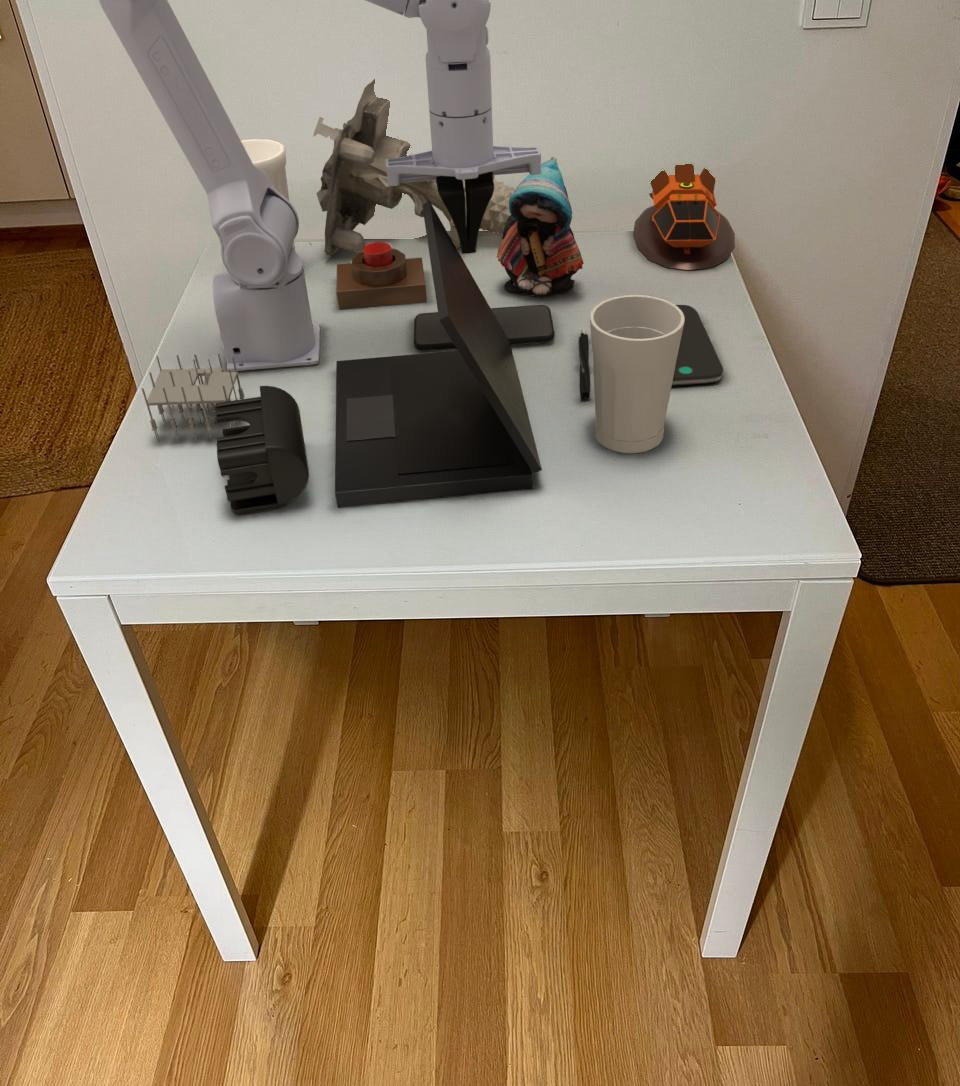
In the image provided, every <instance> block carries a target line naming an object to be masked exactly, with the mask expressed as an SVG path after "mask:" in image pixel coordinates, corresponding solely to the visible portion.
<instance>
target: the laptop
mask: <svg viewBox="0 0 960 1086" xmlns="http://www.w3.org/2000/svg"><path fill="white" fill-rule="evenodd" d="M335 368H336V371H335V372H336V373H335V374H336V375H335V380H336V381H335V452H334V453H335V457H334V458H335V461H334V462H335V463H334V464H335V465H334V466H335V467H334V472H335V473H334V495H335V501H336V507H337V508H344V507H355V506H365V505H366V506H367V505H379V504H386V503H398V502H408V501H420V500H430V499H431V500H432V499H439V498H450V497H451V498H452V497H463V496H473V495H484V494H492V493H493V494H494V493H503V492H513V491H514V492H515V491H526V490H533V488H534V486H533V485H534V483H533V482H534V481H533V478H534V477H533V476H534V475H533V472H532V470H531V469H530V467H529V465H528V464H527V462H526V461H525V459H524V457H523V456H522V454H521V452H520V451H519V449H518V448H517V446H516V444H515V443H514V441H513V439H512V438H511V436H510V435H509V433H508V431H507V430H506V428H505V426H504V425H503V423H502V422H501V420H500V418H499V417H498V415H497V413H496V412H495V410H494V409H493V407H492V405H491V404H490V402H489V400H488V399H487V397H486V396H485V394H484V392H483V391H482V389H481V387H480V386H479V384H478V383H477V381H476V379H475V378H474V376H473V374H472V373H471V371H470V370H469V368H468V366H467V365H466V363H465V361H464V360H463V358H462V357H461V355H460V353H459V352H458V350H457V349H456V350H448V351H447V350H446V351H437V352H436V351H435V352H434V351H433V352H424V353H412V354H401V355H390V356H378V357H376V356H375V357H365V358H355V359H354V358H353V359H343V360H337V361H336V367H335Z"/></svg>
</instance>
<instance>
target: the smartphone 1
mask: <svg viewBox="0 0 960 1086" xmlns="http://www.w3.org/2000/svg"><path fill="white" fill-rule="evenodd" d="M490 308H491V310H492V312H493V313H494V315H495V317H496V319H497V320H498V322H499V324H500V326H501V327H502V329H503V331H504V333H505V334H506V336H507V338H508V340H509V341H510V344H511V346H513V345H524V344H525V345H526V344H539V343H541V344H542V343H548V342H549V343H550V342H551V341H553V340H554V338H555V336H556V335H555V334H556V333H555V328H554V322H553V316H552V310H551V308H550V307H549V306H548V305H546V304H533V305H517V306H516V305H515V306H504V307H490ZM413 346H414V348H415V349H416V350H417V351H422V352H423V351H424V352H426V351H439V350H441V351H442V350H452V349H453V350H454V349H455V350H456V349H457V348H456V347H455V345H454V344H453V342H452V340H451V339H450V337H449V335H448V334H447V332H446V331H445V329H444V327H443V326H442V324H441V322H440V321H439V316H438V311H434V312H433V311H432V312H421V313H419V314H416V316H415V317H414V319H413Z"/></svg>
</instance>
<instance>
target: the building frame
mask: <svg viewBox="0 0 960 1086" xmlns="http://www.w3.org/2000/svg"><path fill="white" fill-rule="evenodd" d="M193 355H194V358H193V359H192V361H193V366H194V368H182V367H183V366H182V363H181V360H180V357H179V356H180V355H179V354H176V359H177V363H178V366H179V367H178V368H171V369H170V368H168V369H162V366H161V363H160V360H159V356H158V355H156V360H157V364H158V367H159V373H158V375H157V378H156V380H155V381H154V377H153V374H152V372H151V371H149V372H148V374H149V378H150V380H151V381H150V382H151V384H152V388H151V390H150V393H149V395H148V397H147V395H146V392H145V388H144V387H142V388H141V391H142V395H143V398H144V401H145V404H146V407H147V408H146V409H147V411H148V414H149V417H150V420H149V423H150V425H151V430H152V431H153V432H154V434H155V438H156V441H157V444H159V443H160V441H161V440H160V436H159V433H158V430H157V429H158V425H157V422H156V419H155V418H153V414H152V412H151V408H150V406H157V409H158V414H159V415H161V419H162V421H163V425H164V427H165V428H166V426H167V421H166V419H165V415H164V412H165V409H164V406H167V409H168V413H169V415H170V420H169V421H170V424H171V430H172V431H174V434H175V437H176V440H177V441H176V442H177V443H178V444H179V443H180V436H179V432H178V424H177V421H176V418H174V416H173V412H172V409H175V407H174V406H177V410H178V414H180V417H181V420H182V423H183V426H184V427H186V424H187V422H186V418H185V415H184V411H185V408H184V407H183V405H185V407H186V410H187V414H188V423H189V426H190V427H189V428H190V430H192V434H193V437H194V440H195V442H196V443H198V442H197V441H198V436H197V432H196V424H195V419H194V417H192V415H191V411H190V410H192V409H193V405H195V407H196V410H195V411H196V413H197V415H198V419H199V422H200V425H202V424H204V425H205V426H206V428H205V429H206V430H208V433H209V437H210V441H211V442H213V440H214V436H213V433H212V429H211V428H212V423H211V421H210V417H209V416H208V415H207V411H208V413H210V412H212V416H213V420H214V424H217V422H216V415H215V414H214V412H216V408H215V403H221V402H228V401H232V400H231V395H232V393H233V394H234V398H235V400H238V397H237V393H236V389H235V384H236V381H237V385H238V389H237V391H238V395H239V400H241V399H245V393H244V389H243V387H242V386H241V381H240V378H239V374H238V371H237V369H236V364H235V360H234V357H232V360H233V364H234V369H235V371H230V369H229V371H225V370H224V367H223V363H222V359H221V354H220V353H217V358H218V363H219V367H212V364H211V361H210V358H209V357H208V358H207V362H208V366H209V367H204V368H203V367H200V364H199V361H198V356H197V354H193ZM197 381H198V384H196V383H197ZM205 405H206V406H205ZM171 406H172V408H171ZM189 406H190V407H189ZM206 408H207V410H206ZM200 414H201V416H202V417H201V416H200ZM201 418H202V419H201ZM202 420H203V422H202ZM235 422H236V421H231V422H229V425H230V428H234V427H236V423H235ZM238 422H239V424H241V422H242V423H245V421H238Z"/></svg>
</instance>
